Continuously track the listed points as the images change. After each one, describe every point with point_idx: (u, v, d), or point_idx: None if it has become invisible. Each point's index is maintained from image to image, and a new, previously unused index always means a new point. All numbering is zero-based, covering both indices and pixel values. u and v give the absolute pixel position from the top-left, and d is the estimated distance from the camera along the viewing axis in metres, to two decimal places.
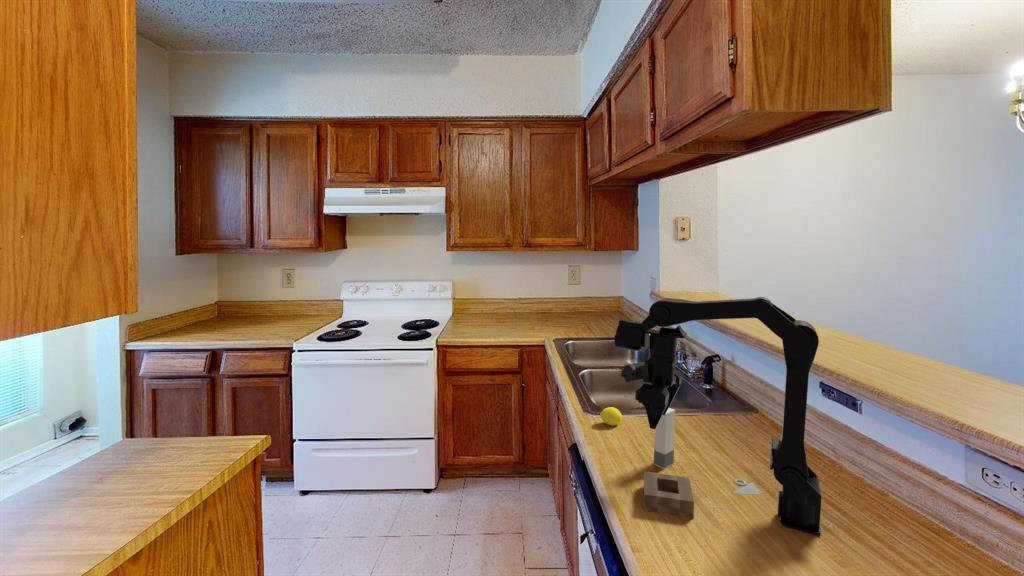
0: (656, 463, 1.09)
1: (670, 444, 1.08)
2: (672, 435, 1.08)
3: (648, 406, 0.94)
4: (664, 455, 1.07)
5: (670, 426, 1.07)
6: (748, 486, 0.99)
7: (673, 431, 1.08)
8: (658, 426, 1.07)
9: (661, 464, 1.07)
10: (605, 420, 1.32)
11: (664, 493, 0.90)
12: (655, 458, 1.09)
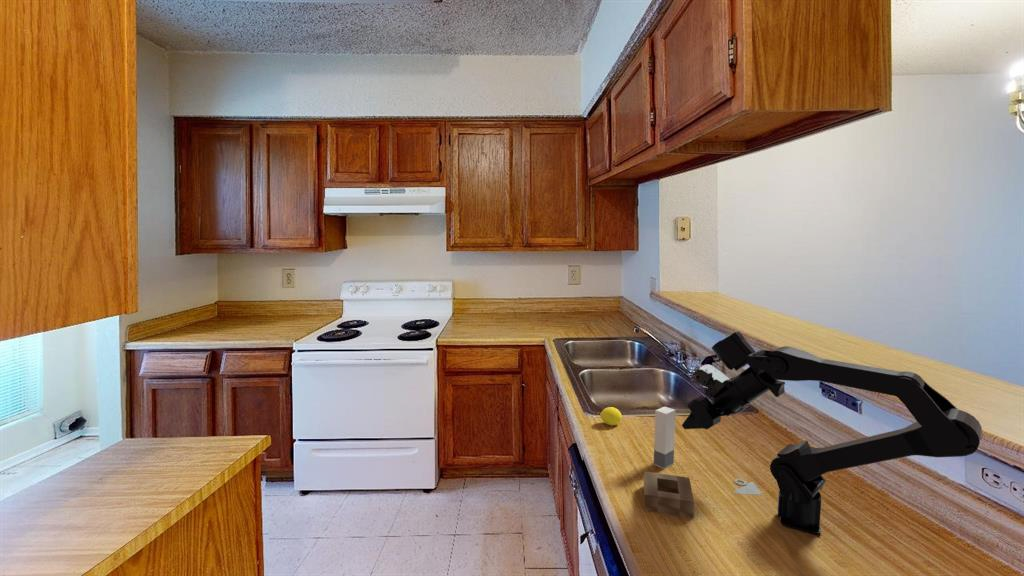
0: (656, 463, 1.09)
1: (670, 444, 1.08)
2: (672, 435, 1.08)
3: (694, 414, 0.96)
4: (664, 455, 1.07)
5: (670, 426, 1.07)
6: (748, 486, 0.99)
7: (673, 431, 1.08)
8: (658, 426, 1.07)
9: (661, 464, 1.07)
10: (605, 420, 1.32)
11: (664, 493, 0.90)
12: (655, 458, 1.09)
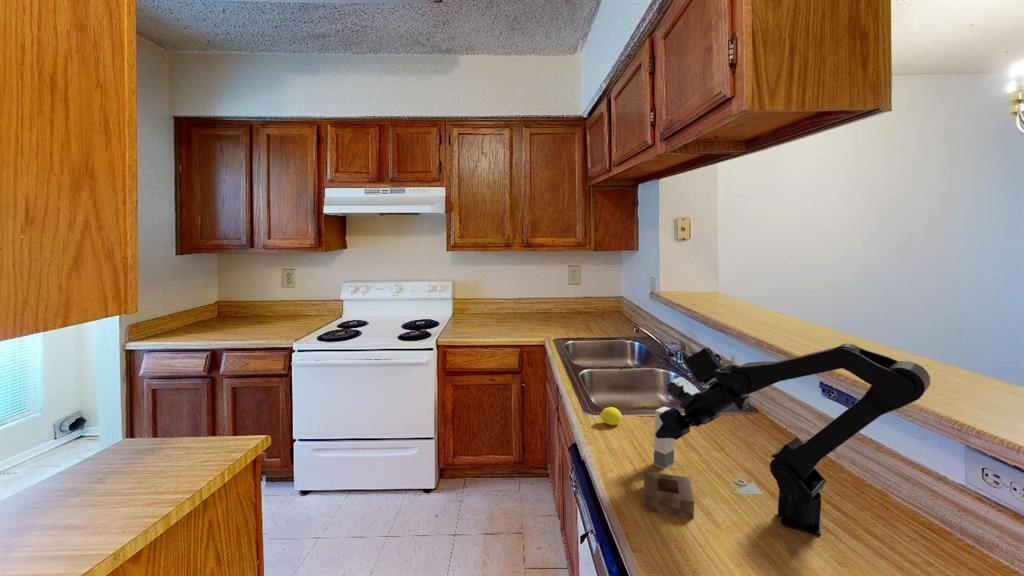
0: (656, 463, 1.09)
1: (670, 444, 1.08)
2: None
3: None
4: (664, 455, 1.07)
5: None
6: (748, 486, 0.99)
7: None
8: (658, 426, 1.07)
9: (661, 464, 1.07)
10: (605, 420, 1.32)
11: (664, 493, 0.90)
12: (655, 458, 1.09)
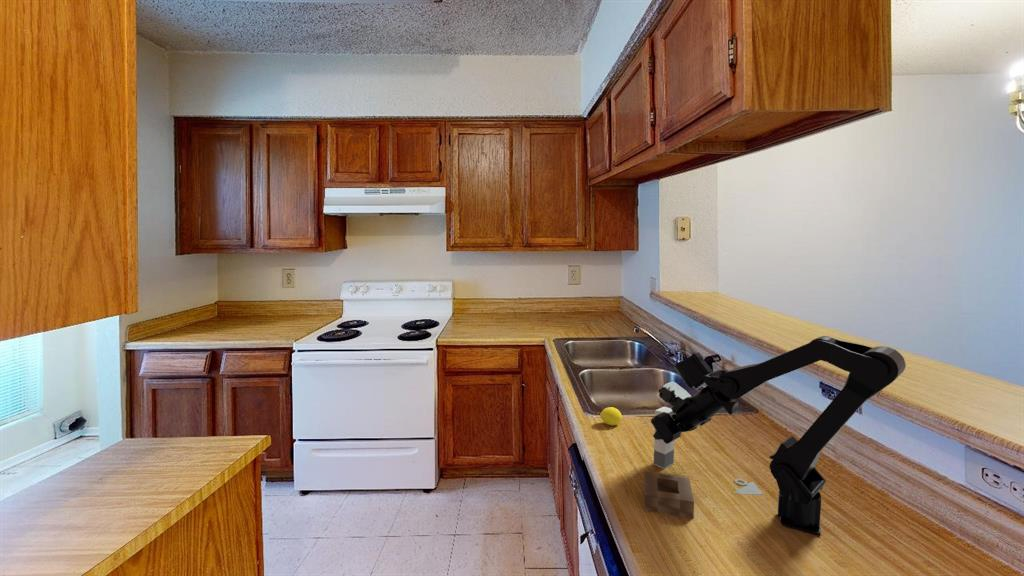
0: (656, 463, 1.09)
1: (670, 444, 1.08)
2: None
3: None
4: (664, 455, 1.07)
5: None
6: (749, 486, 0.99)
7: None
8: None
9: (661, 464, 1.07)
10: (605, 420, 1.32)
11: (664, 493, 0.90)
12: (655, 458, 1.09)
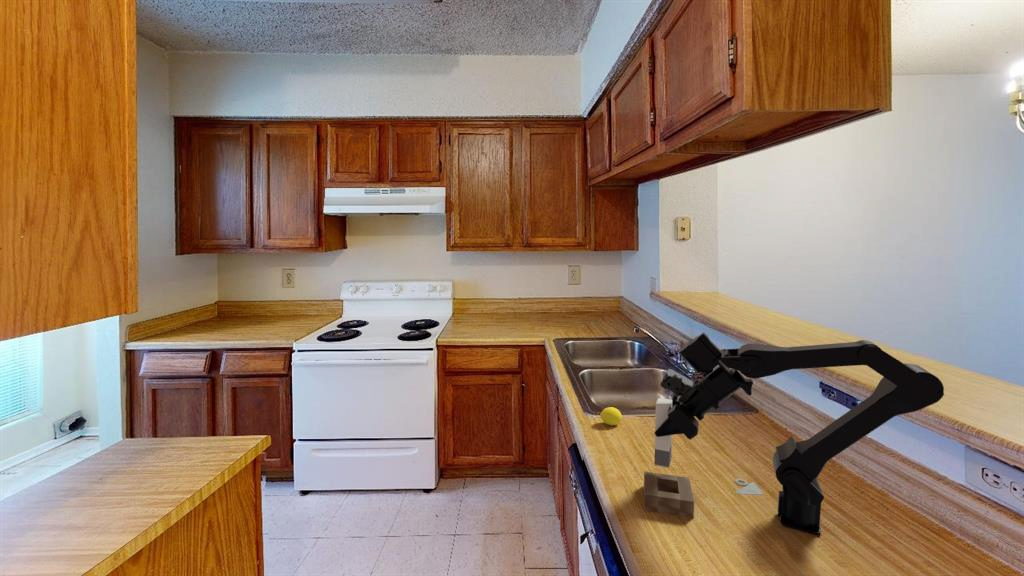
0: (658, 463, 0.96)
1: (670, 439, 0.96)
2: None
3: (671, 420, 0.92)
4: (668, 452, 0.95)
5: None
6: (749, 486, 0.99)
7: None
8: (660, 421, 0.95)
9: (664, 463, 0.95)
10: (605, 420, 1.32)
11: (664, 493, 0.90)
12: (656, 458, 0.96)
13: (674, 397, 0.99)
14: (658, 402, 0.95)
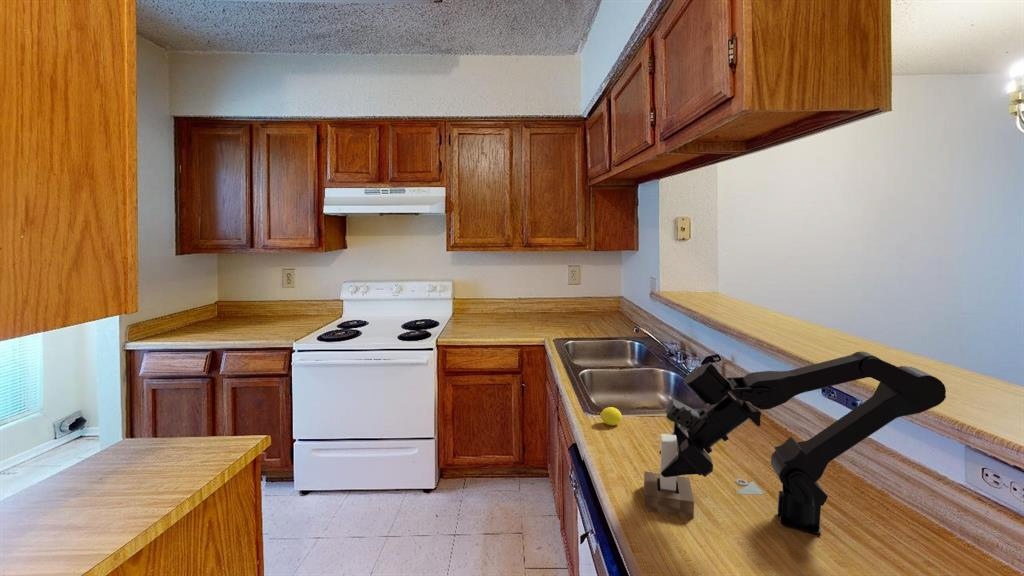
0: None
1: None
2: None
3: (680, 460, 0.86)
4: (674, 491, 0.91)
5: None
6: (750, 486, 0.99)
7: None
8: (666, 459, 0.91)
9: None
10: (605, 420, 1.32)
11: (664, 493, 0.90)
12: None
13: (675, 423, 0.98)
14: (664, 439, 0.92)
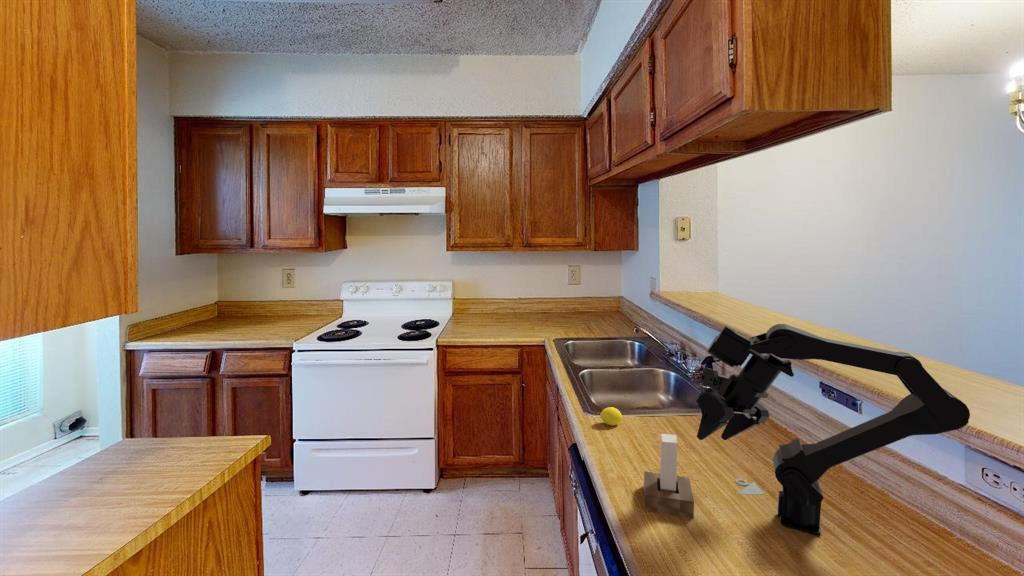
0: None
1: None
2: None
3: (705, 415, 0.88)
4: (674, 491, 0.91)
5: None
6: (750, 486, 0.99)
7: None
8: (666, 459, 0.91)
9: None
10: (605, 420, 1.32)
11: (664, 493, 0.90)
12: None
13: None
14: (664, 439, 0.92)
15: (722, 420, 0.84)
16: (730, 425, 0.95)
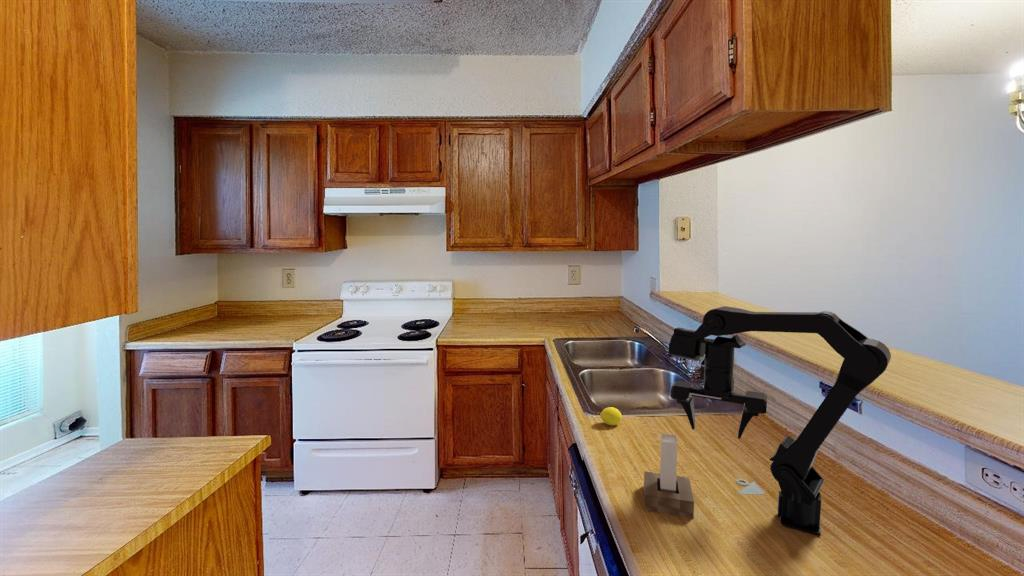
0: None
1: None
2: None
3: None
4: (674, 491, 0.91)
5: None
6: (750, 486, 0.99)
7: None
8: (666, 459, 0.91)
9: None
10: (605, 420, 1.32)
11: (664, 493, 0.90)
12: None
13: None
14: (664, 439, 0.92)
15: (676, 398, 0.97)
16: (740, 422, 0.94)
